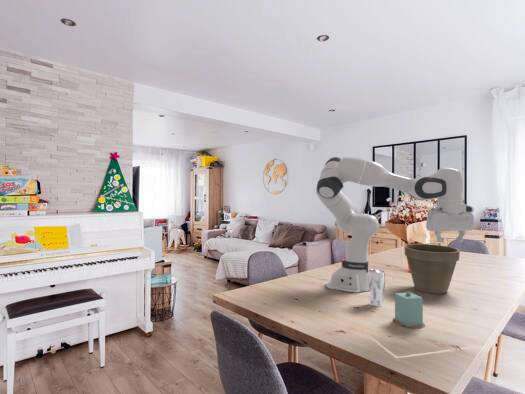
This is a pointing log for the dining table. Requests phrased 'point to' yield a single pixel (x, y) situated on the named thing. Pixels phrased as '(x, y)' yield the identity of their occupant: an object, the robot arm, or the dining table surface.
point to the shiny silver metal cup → (376, 286)
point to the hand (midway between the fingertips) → (450, 241)
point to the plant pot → (431, 266)
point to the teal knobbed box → (409, 309)
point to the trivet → (410, 326)
